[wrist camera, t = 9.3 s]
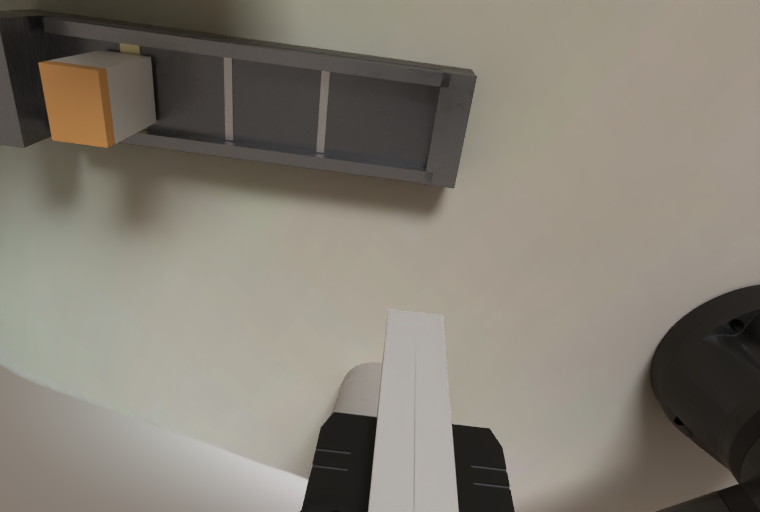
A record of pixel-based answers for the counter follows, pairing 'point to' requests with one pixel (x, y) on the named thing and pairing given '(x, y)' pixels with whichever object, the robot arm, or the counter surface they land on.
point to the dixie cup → (360, 391)
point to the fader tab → (98, 97)
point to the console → (254, 97)
